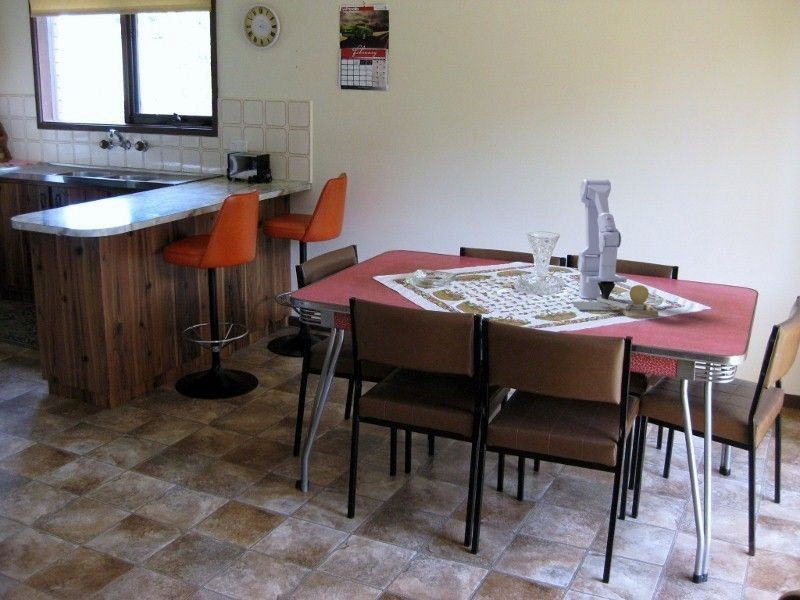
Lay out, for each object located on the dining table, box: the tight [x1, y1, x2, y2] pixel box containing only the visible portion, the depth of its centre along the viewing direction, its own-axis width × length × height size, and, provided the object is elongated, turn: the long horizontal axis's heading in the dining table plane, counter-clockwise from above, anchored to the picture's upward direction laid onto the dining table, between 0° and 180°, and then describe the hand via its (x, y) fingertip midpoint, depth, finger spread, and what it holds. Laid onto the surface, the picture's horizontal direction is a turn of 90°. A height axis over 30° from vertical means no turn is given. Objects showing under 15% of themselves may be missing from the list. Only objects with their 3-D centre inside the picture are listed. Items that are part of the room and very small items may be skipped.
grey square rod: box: [596, 297, 632, 310], centre depth 297 cm, size 15×2×2 cm, turn 32°
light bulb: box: [629, 284, 650, 310], centre depth 296 cm, size 6×6×10 cm
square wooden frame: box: [617, 303, 659, 318], centre depth 297 cm, size 11×11×2 cm
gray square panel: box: [571, 301, 614, 312], centre depth 305 cm, size 12×12×1 cm
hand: (604, 302), depth 303 cm, fingers closed
